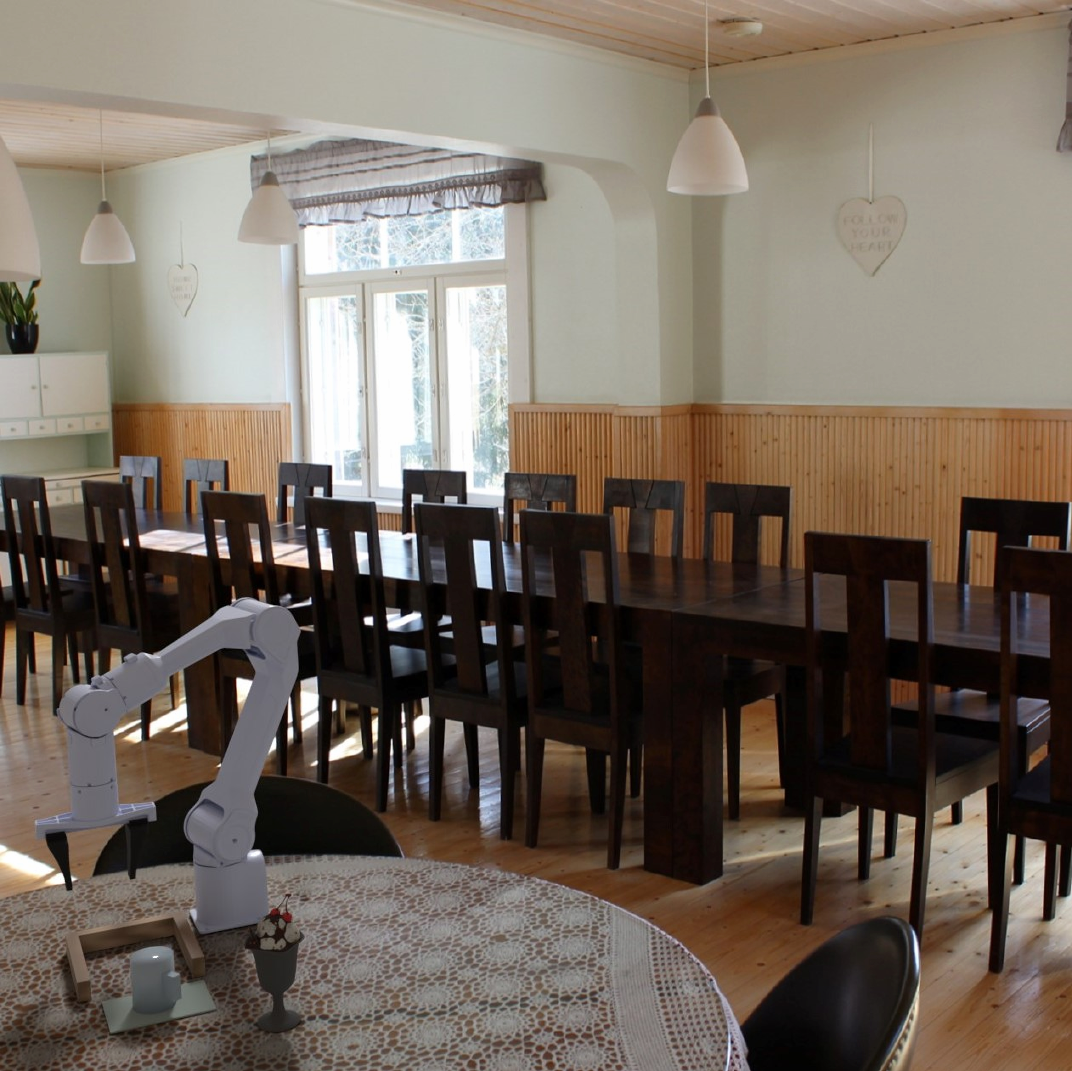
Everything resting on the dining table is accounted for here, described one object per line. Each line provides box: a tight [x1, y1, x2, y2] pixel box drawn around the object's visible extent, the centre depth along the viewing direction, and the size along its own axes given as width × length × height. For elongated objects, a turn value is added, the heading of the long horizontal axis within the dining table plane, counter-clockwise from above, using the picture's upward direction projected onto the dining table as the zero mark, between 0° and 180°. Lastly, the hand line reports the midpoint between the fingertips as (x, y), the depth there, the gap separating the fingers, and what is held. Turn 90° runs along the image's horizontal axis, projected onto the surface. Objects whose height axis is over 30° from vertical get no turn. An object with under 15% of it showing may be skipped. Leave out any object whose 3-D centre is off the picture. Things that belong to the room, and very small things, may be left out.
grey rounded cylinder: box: [129, 945, 182, 1014], centre depth 153 cm, size 7×5×6 cm
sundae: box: [244, 893, 305, 1033], centre depth 149 cm, size 7×7×15 cm
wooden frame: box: [64, 910, 206, 1003], centre depth 165 cm, size 15×15×2 cm
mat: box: [101, 979, 218, 1035], centre depth 154 cm, size 12×8×1 cm, turn 115°
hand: (100, 882), depth 166 cm, fingers open, 7 cm apart
